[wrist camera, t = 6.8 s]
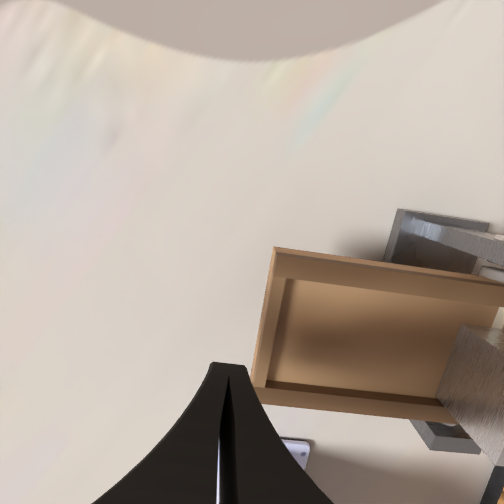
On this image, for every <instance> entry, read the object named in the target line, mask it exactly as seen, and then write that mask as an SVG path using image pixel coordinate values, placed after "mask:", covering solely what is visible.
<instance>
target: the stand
mask: <svg viewBox="0 0 504 504" xmlns="http://www.w3.org/2000/svg"><path fill="white" fill-rule="evenodd" d="M488 226H489V223H485V222H480V221H474V220H468V219H461V218H455V217H448V216H442V215H436V214H429V213H423V212H416V211H410V210H403V209H397V213H396V216H395V220H394V223H393V227H392V231H391V234H390V238H389V241H388V245H387V248H386V252H385V255H384V259H383V262H386V263H393V264H400V265H407V266H414V267H421V268H428V269H435V270H442V271H449V272H456V273H463V274H470V275H471V272H472V269H473V267H474V264H475V261H476V259H477V256H478V257H480V258H483V259H486V260H487V261H489V262H491V263H494V264H498V265H502V266H504V235H497V234H496V235H494V234H490V233H486V231H487V229H488ZM409 420H410V422H411V423H412V424H413V426H414V427H415V429H416V430H417V432H418V433H419V435H420V436H421V438H422V439H423V441H424V442H425V444H426V445H427V447H428V448H429V449H430V450H435V451H446V452H457V453H469V454H480V452H481V448H480V447H479V446H478V445H477V444H476V443H475V441H474V440H473V439H472V438H471V437H470V436H469V434H468V433H467V432H466V431H465V430H464V429H463V427H462V426H461V425H459V424H450V423H440V422H431V421H421V420H412V419H409Z"/></svg>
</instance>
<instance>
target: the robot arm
mask: <svg viewBox="0 0 504 504" xmlns="http://www.w3.org/2000/svg"><path fill="white" fill-rule="evenodd" d="M309 452H310V445H309V443H308V442H305V441H294V440H283V439H281V438H280V437H279V435H278V434H277V432H276V430H275V429H274V427H273V425H272V423H271V422H270V420H269V418H268V416H267V415H266V413H265V411H264V409H263V407H262V405H261V403H260V401H259V399H258V397H257V394H256V392H255V390H254V387H253V385H252V383H251V380H250V377H249V374H248V371H247V368H246V367H245V366H244V365H237V364H228V363H220V362H212V363H211V364H210V367H209V370H208V372H207V374H206V377H205V379H204V381H203V382H202V384H201V386H200V388H199V389H198V391H197V393H196V394H195V396H194V398H193V399H192V401H191V402H190V404H189V405H188V407H187V408H186V409H185V411H184V412H183V414H182V415H181V417H180V418H179V419H178V420H177V422H176V423H175V424H174V426H173V427H172V428H171V429H170V430H169V432H168V433H167V434H166V435H165V436H164V437H163V439H162V440H161V441H160V442H159V443H158V444H157V445H156V446H155V447H154V448H153V449H152V450H151V452H150V453H149V454H148V455H147V456H146V457H145V458H144V459H143V460H142V461H141V462H140V463H138V464H137V465H136V466H135V467H134V468H133V469H132V470H131V471H130V472H129V473H128V474H127V475H125V476H124V477H123V478H122V479H121V480H120V481H119V482H118V483H117V484H115V485H114V486H113V487H112V488H111V489H109V490H108V491H107V492H106V493H104V494H103V495H102V496H101V497H99V498H98V499H97V500H96V501H94V502H93V503H92V504H334V503H333V502H332V501H331V500H330V499H329V498H328V497H327V496H326V495H325V494H324V493H323V492H322V491H321V490H320V489H319V488H318V487H317V485H316V484H315V483H314V482H313V481H312V479H311V478H310V477H309V476H308V475H307V473H306V472H305V468H306V464H307V460H308V456H309Z"/></svg>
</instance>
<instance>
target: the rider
mask: <svg viewBox="0 0 504 504" xmlns="http://www.w3.org/2000/svg"><path fill="white" fill-rule="evenodd" d="M435 396H436V397H437V398H438V399H439V401H440V402H441V403H442V404H443V405H444V406H445V408H446V409H447V410H448V411H449V412H450V413H451V415H452V416H453V417H454V418H455V419H456V420H457V422H458V423H459V424H460V425H461V426H462V427H463V429H464V430H465V431H466V432H467V433H468V434H469V436H470V437H471V438H472V439H473V440H474V441H475V443H476V444H477V445H478V446H479V447H480V448H481V450H482V451H483V452H484V453H485V454H486V455H487V457H488V458H489V459H490V460H491V461H492V463H493V464H494V465H495V466H504V329H498V328H491V327H483V326H475V325H467V324H461V327H460V330H459V332H458V335H457V338H456V340H455V343H454V346H453V348H452V351H451V354H450V356H449V359H448V362H447V364H446V367H445V370H444V372H443V375H442V378H441V380H440V383H439V385H438V388H437V391H436V393H435Z"/></svg>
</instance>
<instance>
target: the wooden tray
mask: <svg viewBox="0 0 504 504" xmlns="http://www.w3.org/2000/svg"><path fill="white" fill-rule="evenodd" d="M461 324H467V325H475V326H483V327H491V328H498V329H504V270H502V269H498V268H494V267H488V266H482V267H481V269H480V272H479V275H478V276H477V275H470V274H463V273H456V272H449V271H442V270H435V269H428V268H421V267H414V266H407V265H400V264H393V263H386V262H379V261H372V260H365V259H358V258H351V257H343V256H336V255H329V254H322V253H315V252H308V251H301V250H294V249H287V248H280V247H273V252H272V257H271V263H270V269H269V274H268V280H267V286H266V291H265V297H264V303H263V308H262V314H261V319H260V325H259V331H258V336H257V342H256V348H255V353H254V359H253V365H252V370H251V376H250V380H251V383H252V385H253V387H254V390H255V392H256V394H257V397H258V399H259V401H260V403H261V404H268V405H278V406H287V407H297V408H306V409H316V410H325V411H335V412H345V413H354V414H364V415H373V416H383V417H392V418H402V419H412V420H421V421H431V422H440V423H450V424H459V423H458V422H457V420H456V419H455V418H454V417H453V416H452V415H451V413H450V412H449V411H448V410H447V409H446V408H445V406H444V405H443V404H442V403H441V402H440V401H439V399H438V398H437V397H436V396H435V393H436V391H437V388H438V385H439V383H440V380H441V378H442V375H443V372H444V370H445V367H446V364H447V362H448V359H449V356H450V354H451V351H452V348H453V346H454V343H455V340H456V338H457V335H458V332H459V330H460V327H461ZM459 425H460V424H459Z"/></svg>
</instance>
